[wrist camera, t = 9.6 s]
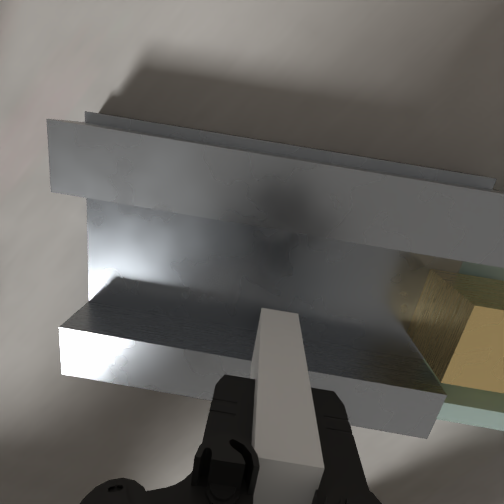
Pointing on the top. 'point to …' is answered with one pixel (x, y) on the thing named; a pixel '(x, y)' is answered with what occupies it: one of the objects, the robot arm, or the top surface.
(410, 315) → the slot bed
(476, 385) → the tan wooden cube
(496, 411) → the tray
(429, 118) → the top surface
